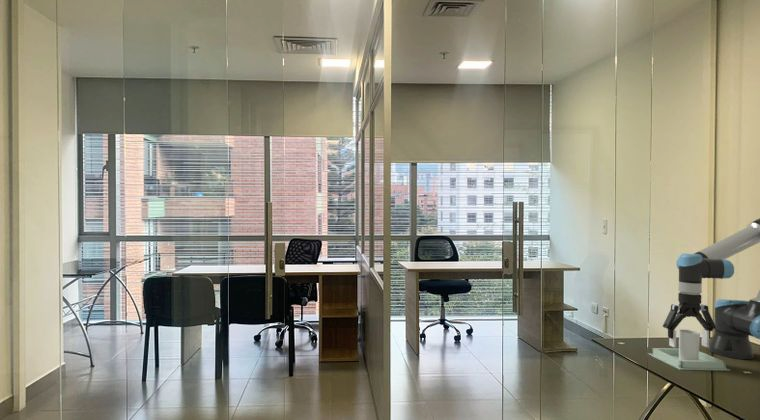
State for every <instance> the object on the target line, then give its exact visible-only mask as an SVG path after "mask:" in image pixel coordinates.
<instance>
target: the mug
mask: <svg viewBox="0 0 760 420" xmlns="http://www.w3.org/2000/svg"><path fill="white" fill-rule="evenodd" d="M700 336H701V333H700V332H698V331H697V330H692V329H683V328H682V329H679V330H678V349H679V360H689V361H698V358H699V351H700V341H701V337H700Z"/></svg>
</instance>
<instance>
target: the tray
mask: <svg viewBox="0 0 760 420" xmlns="http://www.w3.org/2000/svg"><path fill="white" fill-rule="evenodd" d="M648 354H649V355H648ZM647 355H648V356H650V355H651V357H653V358H654V359H657V360H659V361H661V362H663V363H665V364H667V365H669V366H671V367H673V368H675V369H678V370H679V371H726V372H727V371H729V372H730V371H731V369H729V368H727V367H726V365H727V364H726V363H727V362H726V361H725V360H722V359H720V358H717V357H714V356H713V355H709V354H707V353H705V352H703V351H700V350H699V358H698V361H689V360H679V348H675V347H672V348H671V347H669V348H668V347H667V348H665V347H661V348H660V347H659V348H657V347H653V348H651V353H649V352H647Z"/></svg>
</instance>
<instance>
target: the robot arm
mask: <svg viewBox="0 0 760 420" xmlns="http://www.w3.org/2000/svg"><path fill="white" fill-rule="evenodd" d="M759 243H760V218H757V219H755V220H753V221H751V222H749V223H748V224H747V225H746V227H745V228H743V229H741V230H739V231H737V232H735V233H733V234H731V235H729V236H727V237H725V238H723V239H721V240H719V241H716V242H715V243H713V244H711V245H708V246H707V247H704V248H702V249H700V250H698V251H697V252H695V253H681V254H680V255H679V256H678V257H677V259H676V263H675V264H676V265H675V266H676V269H678V291H679V292H678V294H677V295H678V296H677V297H678V298H677V299H678V303H679V304H678V305H677V304H673V303H672V304H671V306H670V310H669V312H668V314H667V316H666V319H665V320H664V323H663V325H662V327H663V328H664V329H667V338H668V341H669V342H668V343H669V344H668V345H669V346H670V347H672V348H677V331H676V328H677V327H678V326H679V325H680V323H681V322H682V321H683V320H684V319H685V318H687V317H688V318H689V317H690V318H691V317H692V318H695V319H696V321H698V323H700V325H701V326H702V329H701V346H702V347H705V348H708V351H709V352H711V353H713V354H716V355H719V356H722V357H728V358H732V359H738V360H739V359H741V360H752V359H754V357H755V355H754V352H755V351H754V350H753V348H752V344H751V340H750V336H751V337H754V338H755V339H758V340H760V289H759V290H758V293H757V295H756V296H755V297H753V298H750V299H749V300H739V299H726V298H725V299H717V300H716V301H715V305H714V319H713V318H712V316H711V313H710V311H709V306H708V305H706V304H702V295H701V294H702V291H703V290H702V284H703V282H702V281H703V279H719V280H720V279H721V280H723V279H724V280H725V279H730V278H732V277H733V276H734V273H735V266H734V264H733V263H732V262H731V260H729V258H731V257H733V256H735V255H736V254H739V253H741V252H743V251H745V250H747V249H750V248H751V247H753V246H755V245H757V244H759ZM700 311H701V312H700ZM711 332H714V333H713V335H712V337H711ZM710 339H711V340H710Z"/></svg>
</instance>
